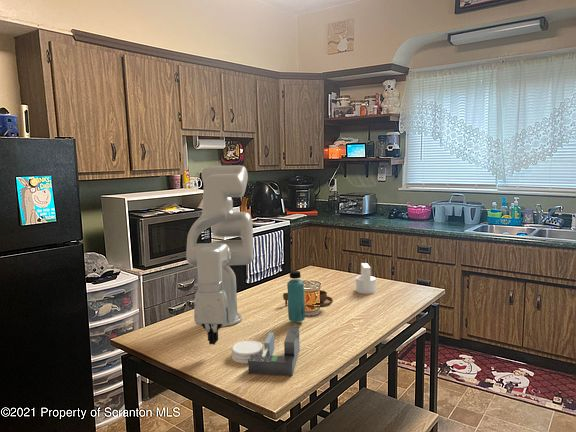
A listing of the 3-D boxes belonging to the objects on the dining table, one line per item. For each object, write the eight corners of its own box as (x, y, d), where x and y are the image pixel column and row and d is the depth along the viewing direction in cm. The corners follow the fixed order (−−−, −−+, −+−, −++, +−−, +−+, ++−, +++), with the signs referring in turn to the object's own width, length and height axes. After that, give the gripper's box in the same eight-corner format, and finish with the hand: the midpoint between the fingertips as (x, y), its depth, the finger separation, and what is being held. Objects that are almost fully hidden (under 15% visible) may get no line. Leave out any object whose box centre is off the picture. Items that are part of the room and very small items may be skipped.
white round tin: (233, 366, 133) (232, 355, 132) (230, 352, 142) (230, 341, 142) (265, 362, 135) (265, 351, 134) (260, 348, 144) (260, 338, 144)
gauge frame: (248, 373, 127) (247, 347, 126) (260, 348, 144) (259, 325, 143) (292, 375, 125) (291, 349, 124) (299, 349, 142) (299, 326, 141)
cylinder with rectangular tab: (377, 293, 196) (377, 267, 195) (357, 293, 197) (357, 268, 195) (373, 287, 205) (373, 262, 204) (354, 287, 205) (354, 263, 204)
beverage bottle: (303, 326, 161) (302, 274, 158) (286, 325, 162) (284, 273, 160) (306, 319, 167) (305, 269, 165) (289, 319, 169) (288, 269, 166)
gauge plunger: (261, 369, 128) (260, 351, 127) (269, 349, 141) (269, 332, 140) (266, 369, 128) (265, 351, 127) (274, 349, 141) (273, 332, 140)
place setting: (329, 311, 177) (328, 297, 176) (281, 308, 182) (281, 295, 181) (335, 297, 194) (335, 285, 193) (292, 295, 199) (291, 283, 198)
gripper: (183, 289, 134) (186, 346, 136) (230, 290, 132) (232, 348, 134) (192, 283, 141) (195, 337, 143) (236, 283, 139) (239, 339, 141)
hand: (213, 342), depth 139 cm, fingers closed
